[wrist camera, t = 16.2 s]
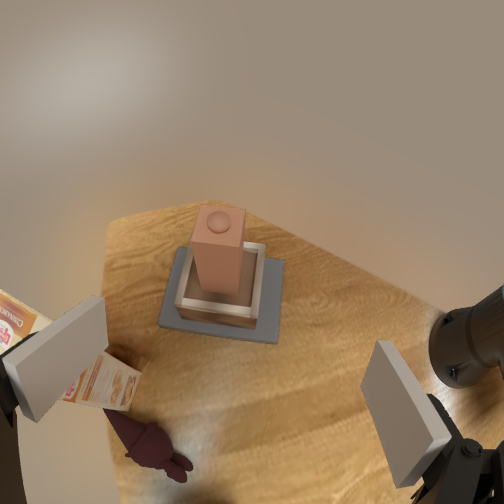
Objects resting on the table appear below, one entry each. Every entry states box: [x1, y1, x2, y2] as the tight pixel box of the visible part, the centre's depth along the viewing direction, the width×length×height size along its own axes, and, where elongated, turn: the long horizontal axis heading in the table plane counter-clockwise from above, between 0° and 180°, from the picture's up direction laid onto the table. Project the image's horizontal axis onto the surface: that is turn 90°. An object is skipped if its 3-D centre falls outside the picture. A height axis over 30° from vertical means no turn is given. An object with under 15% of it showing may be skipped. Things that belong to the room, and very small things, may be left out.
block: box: [191, 204, 245, 295], centre depth 36 cm, size 5×5×13 cm
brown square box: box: [174, 236, 266, 330], centre depth 43 cm, size 11×11×6 cm
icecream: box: [103, 408, 193, 483], centre depth 31 cm, size 7×7×15 cm
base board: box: [158, 247, 284, 344], centre depth 46 cm, size 18×14×2 cm
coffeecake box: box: [0, 289, 142, 412], centre depth 30 cm, size 15×7×20 cm, turn 75°
